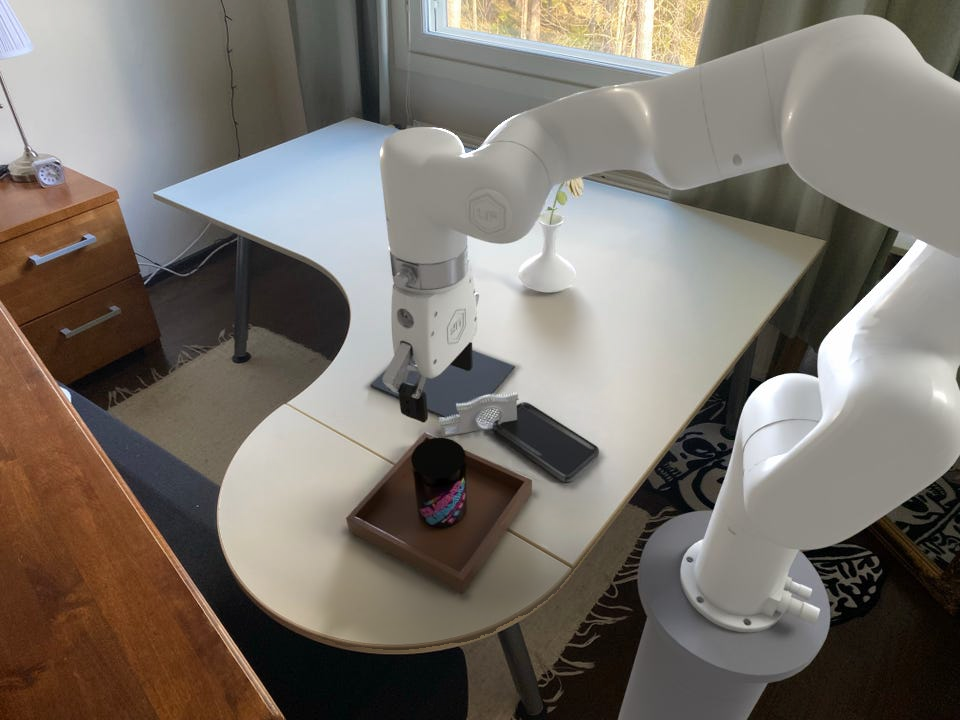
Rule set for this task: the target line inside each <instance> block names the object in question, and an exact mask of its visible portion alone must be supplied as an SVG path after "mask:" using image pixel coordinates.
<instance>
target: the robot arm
mask: <svg viewBox="0 0 960 720" xmlns="http://www.w3.org/2000/svg"><path fill="white" fill-rule="evenodd" d="M787 164H788V165H789V167H790V168H791V169H792V170H793V172H794V173H795V174H796V176H797V177H798V178H799V179H800V180H802V181H803V182H804V183H805V184H806V185H808V186H809V187H811V188H813V190H815V191H817V192H818V193H820V194H822V195H824V196H825V197H827V198H829V199H831V200H832V201H834V202H836V203H839V204H840V205H842V206H843V207H846V208H848V209H850V210H852V211H853V212H856V213H858V214H860V215H862V216H864V217H867V218H868V219H871V220H873V221H875V222H878V223H880V224H882V225H884V226H886V227H888V228H891V229H893V230H895V231H897V232H899V233H902V234H904V235H906V236H909V237H911V238H912V239H915V240H916V241H915V242H914V244H913V245H912V246H911V248H910V249H908V251H907V253H906V254H905V255H904V256H903V257H902V258H901V259H900V260H899V262H898V263H896V265H895V266H894V267H893V268H892V269H891V270H890V271H889V272H888V273H887V274H886V275H885V276H884V277H883V279H881V280H880V281H879V282H878V283H877V284H876V285H875V286H874V287H873V288H872V289H871V291H869V292H868V293H867V294H866V295H865V297H864V296H863V298H862V299H861V300H860V301H859V302H858V303H857V304H856V305H855V306H854V307H853V308H852V309H851V310H850V311H849V312H848V313H847V314H846V315H845V316H844V317H843V318H842V319H841V320H840V321H839V322H838V323H837V324H836V325H835V326H834V327H833V328H832V329H831V330H830V331H829V332H828V334H827V335H826V336H825V337H824V339H823V340H822V342H821V343H820V345H819V348H818V352H817V365H816V366H817V377H816V376H814V375H810V374H807V373H800V372H799V373H797V372H795V373H794V372H792V373H791V372H790V373H784V374H780V375H777V376H774V377H772V378H769V379H767V380H766V381H764V382H762V383H761V384H760V385H758V387H756V388H755V390H754V391H752V393H751V394H750V396H748V398H747V400H746V402H745V403H744V406H743V409H742V410H741V414H740V417H739V421H738V425H737V429H736V433H735V439H734V444H733V447H732V452H731V456H730V459H729V464H728V467H727V470H726V473H725V475H724V478H723V479H724V480H723V482H722V484H721V487H720V490H719V493H718V495H717V499H716V502H715V505H714V508H713V510H712V511H713V513H712V516H711V519H710V522H709V525H708V528H707V531H706V534H705V537H704V539H703V540H700V541H699V542H697V543H695V544H694V545H692V546H691V547H690V548H689V549H688V551H687V552H686V554H685V555H684V557H683V560H682V563H681V567H680V581H681V585H682V588H683V591H684V593H685V595H686V597H687V598H688V600H689V601H690V603H691V604H692V605H693V607H694V608H695V609H696V610H697V611H698V612H699V613H700V614H702V615H703V616H704V617H705V618H707V619H708V620H710V621H711V622H713V623H715V624H717V625H718V626H721V627H723V628H726V629H728V630H733V631H737V632H749V633H751V632H758V631H762V630H765V629H768V628H770V627H771V626H773V625H774V624H776V623H777V622H778V621H779V620H780V618H781V617H782V615H783V614H785V612H786V611H787V612H789V613H791V614H794V615H796V616H798V618H800V619H803V620H805V621H807V622H809V623H811V624H815V623H816V621H817V619H818V616H819V612H820V609H819V608H817V607H815V606H812V605H810V604H808V603H806V602H802V601H799V600H797V599H795V598H793V597H791V595H792V594H791V593H789V592H788V591H790V592H792V593H794V594H797V596H800V597H802V598H804V599H807V600H809V598H810V596H811V592H812V589H811V588H808V587H806V586H804V585H800V584H798V583H795V582H793V581H791V580H792V578H790V577H788V576H787V575H788V572H789V568H790V566H791V564H792V562H793V560H794V558H795V556H796V554H797V552H798V550H800V551H811V550H819V549H823V548H828V547H831V546H834V545H836V544H839V543H841V542H843V541H845V540H848V539H850V538H851V537H853V536H855V535H857V534H859V533H860V532H862V531H863V530H864V529H866V528H868V527H869V526H871V525H872V524H874V523H875V522H877V521H878V520H880V519H881V518H883V517H884V516H886V515H887V514H889V513H890V512H892V511H893V510H894V509H896V508H898V507H899V506H901V505H902V504H903V503H905V502H907V501H908V500H909V499H911V498H912V497H914V496H916V495H917V494H918V493H920V492H922V491H923V490H924V489H926V488H927V487H929V486H930V485H932V484H933V483H934V482H936V481H937V480H938V479H940V478H941V477H942V476H944V475H945V474H946V473H947V472H948V471H949V470H950V469H951V467H952V466H953V465H954V464H955V463H956V461H957V460H958V458H960V387H959V384H958V381H957V374H958V369H959V368H960V81H958V80H956V79H954V78H952V77H951V76H949V75H947V74H945V73H944V72H942V71H940V70H938V69H937V68H935V67H934V66H933V65H931V64H929V63H928V62H926V60H925V59H924V58H923V56H922V54H921V53H920V52H919V51H918V49H917V47H916V46H915V45H914V44H913V43H912V41H911V39H909V37H908V36H907V34H905V32H903V31H902V29H900V28H899V27H898V26H897V25H895V24H894V23H892V22H891V21H889V20H887V19H885V18H883V17H881V16H878V15H873V14H853V15H845V16H840V17H836V18H833V19H830V20H827V21H823V22H820V23H816V24H814V25H811V26H808V27H805V28H802V29H800V30H796V31H793V32H791V33H787V34H784V35H781V36H779V37H776V38H772V39H770V40H767V41H765V42H762V43H759V44H756V45H753V46H750V47H747V48H745V49H742V50H739V51H736V52H733V53H729V54H727V55H724V56H721V57H718V58H715V59H712V60H709V61H707V62H704V63H700V64H697V65H694V66H691V67H689V68H685V69H683V70H680V71H677V72H673V73H669V74H667V75H664V76H661V77H657V78H653V79H649V80H639V81H631V82H627V83H622V84H615V85H608V86H602V87H597V88H592V89H588V90H584V91H581V92H577V93H574V94H571V95H568V96H565V97H562V98H560V99H556V100H553V101H551V102H548V103H545V104H543V105H540V106H537V107H534V108H532V109H529V110H525V111H523V112H521V113H518V114H516V115H514V116H512V117H510V118H508V119H507V120H505V121H503V122H502V123H501V124H499V125H498V126H497V127H495V128H494V129H493V131H492V132H491V133H490V134H489V135H488V136H487V137H486V138H485V140H484V141H483V142H482V143H481V145H480V146H479V147H478V149H476V150H473V151H471V152H468V153H466V152H465V147H464V145H463V143H462V140H460V138H459V137H458V136H457V135H455V134H454V133H453V132H451V131H449V130H446V129H443V128H438V127H431V126H430V127H429V126H418V127H417V126H416V127H410V128H405V129H400V130H398V131H397V132H394V133H392V134H390V135H389V136H388V137H387V138H386V139H384V141H383V142H382V144H381V147H380V150H379V166H380V167H379V168H380V178H381V186H382V188H381V189H382V195H383V203H384V205H383V206H384V214H385V222H386V232H387V241H388V250H389V258H390V259H389V260H390V266H391V267H390V269H391V276H392V283H393V284H392V291H391V306H390V307H391V308H390V310H391V312H390V313H391V314H390V315H391V316H390V317H391V320H390V321H391V322H390V323H391V340H392V350H393V357H392V359H391V361H390V362H389V364H388V366H387V368H386V370H385V371H386V372H385V371H384V372H385V374H384V375H383V378H382V381H383V382H384V384H385V385H386V386H387V387H388V388H389V390H390V391H393V392H396V393H398V394H399V398H398V399H399V408H400V413H401V414H402V415H404V416H406V417H407V418H410V419H413V420H416V421H418V422H421V423H426V422H427V421H428V420H429V413H428V412H429V411H427V400H426V393H424V392H422V390H423V387H424V384H425V381H426V378H427V377H428V378H430V379H431V378H434V377H436V376H438V375H439V374H441V373H442V372H443V371H444V370H445V369H446V368H447V367H448V366H449V365H452V366H455V367H458V368H461V369H463V370H466V371H470V370H471V369H472V368H473V357H472V350H473V342H472V341H473V339H474V338H475V336H476V334H477V331H478V309H477V308H478V303H479V300H480V299H479V298H480V294H479V293H477V292H476V288H475V280H474V274H473V271H472V267H471V266H472V265H471V263H470V260H469V256H468V255H469V253H468V237H471V238H473V239H476V240H479V241H482V242H486V243H491V244H496V245H505V244H506V245H507V244H511V243H512V244H513V243H515V242H517V241H520V240H521V239H523V238H524V237H525V236H527V235H528V234H529V233H530V232H531V231H532V230H533V228H534V226H535V225H536V223H537V222H538V220H537V219H538V217H539V215H541V214H542V212H543V210H544V207H545V206H546V203H547V202H548V199H549V197H550V196H551V193H552V191H553V189H554V188H555V186H556V187H557V186H558V185H561V184H562V183H564V182H565V183H566V182H567V181H570V180H573V179H577V178H580V177H582V178H583V177H587V176H590V175H594V174H595V175H596V174H599V173H604V172H610V171H619V170H623V171H624V170H627V171H636V172H640V173H642V174H645V175H648V176H649V177H651V178H652V179H654V180H656V181H657V182H659V183H660V184H662V185H664V186H666V187H667V188H670V189H672V190H675V191H686V190H690V189H695V188H698V187H702V186H705V185H709V184H713V183H717V182H721V181H724V180H727V179H730V178H734V177H739V176H743V175H746V174H751V173H755V172H758V171H762V170H766V169H769V168H773V167H778V166H781V165H782V166H783V165H787ZM565 183H564V184H565ZM412 358H413V360H414V362H415V364H416V365H413V364H411V363H410V362H411V359H412ZM409 370H410V371H413V372H415V373H418V374H417V378H416V381H415V384H414V385H412V384H409V383H407V382H406V379H407V376H408V372H409Z"/></svg>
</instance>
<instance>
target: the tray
mask: <svg viewBox="0 0 960 720" xmlns="http://www.w3.org/2000/svg"><path fill="white" fill-rule="evenodd" d="M432 438H438V437H437V436H435V435H432V434H430V433H428V432H426V431H425V432H423V433H422V434H421V436H419V437H418V438H417V439H416V441H415V442H414V443H413V444H412V445H411V446H410V447H409V448H408V450H407V451H406V452H405V453H404V454H403V455H402V456H401V457H400V458H399V459H398V460H397V461H396V462H395V464H394V465H393V466H392V467H391V468H390V469H389V470H388V471H387V472H386V473H385V475H384V476H383V477H382V478H381V479H380V480H379V481H378V482H377V483H376V484H375V486H374V487H373V488H372V489H371V490H370V491H369V492H368V493H367V494H366V495H365V496H364V498H363V499H362V500H360V502H359V503H358V504H357V505H356V506H355V507H354V508H353V510H352V511H350V513H348V515H347V516H346V517H345V520H346V524H347V528H348V533H351V534H353V535H355V536H356V537H358V538H360V539H362V540H364V541H365V542H367V543H369V544H371V545H373V546H375V547H376V548H378V549H380V550H382V551H383V552H385V553H388V554H389V555H391V556H392V557H395V558H397V559H398V560H400V561H401V562H404V563H405V564H408V565H410V566H411V567H413V568H415V569H417V570H418V571H420V572H422V573H424V574H426V575H428V576H429V577H431V578H433V579H435V580H437V581H438V582H440V583H442V584H444V585H445V586H448V587H449V588H451V589H452V590H455V591H456V592H459V593H460V594H462V595H464V594H465V593H466V591H467V590H468V588H469V586H470V585H471V584H472V582H473V581H474V579H475V578H476V576H477V575H478V573H479V572H480V570H481V569H482V567H483V566H484V565H485V564H486V562H487V560H488V559H489V557H490V556H491V554H492V553H493V551H494V550H495V548H496V547H497V546H498V544H499V542H500V541H501V540H502V538H503V537H504V535H505V533H507V531H508V529H509V528H510V526H511V525H512V523H513V522H514V521H515V519H516V518H517V516H518V515H519V513H520V512H521V510H522V509H523V508H524V506H525V505H526V503H527V502H528V500H529V498H530V497H531V496H532V494H533V479H531V478H529V477H527V476H524V475H522V474H520V473H518V472H516V471H513V470H512V469H511V470H510V469H509V468H507V467H504V466H503V465H500V464H497V463H495V462H493V461H490V460H488V459H486V458H484V457H482V456H479V455H478V454H475V453H472V452H470V451H468V450H466V449H464V451H465V455H466V487H467V511H466V514H465V516H464V517H463V519H462V520H461V521H460V522H459V523H457V524H456V525H454V526H452V527H449V528H443V529H440V528H434V527H431V526H429V525H427V524H425V523H424V522H423V521H422V520H421V519H420V517H419V515H418V512H417V504H416V495H415V486H414V477H413V472H412V462H411V457H412V453H413V451H414V449H415V448H416V447H417V446H418V445H419V444H421V443H422V442H424V441H426V440H429V439H432Z"/></svg>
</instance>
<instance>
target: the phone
mask: <svg viewBox="0 0 960 720" xmlns="http://www.w3.org/2000/svg"><path fill="white" fill-rule="evenodd" d="M492 433H493V434H494V435H495V436H496V437H497V438H499V439H500V440H502V441H503V442H505V443H506V444H507V445H509V446H510V447H512V448H513V449H514V450H516V451H518V452H519V453H520V454H522V455H523V456H525V457H526V458H528V459H529V460H531V461H532V462H534V463H535V464H536V465H538V466H539V467H540V468H541V469H543V470H545V471H547V472H548V473H549V474H551V475H552V476H554V477H555V478H557V479H558V480H560V481H561V482H563V483H571V482H573V481H574V480H576V478H578V477H579V475H580V474H582V473H583V472H584V471H585V470H586V469H588V467H590V466H591V465H592V464H593V463H594V462H595V461H596V460H597V459H598V458H599V453H600V449H599V447H598V446H597V445H596V444H594V443H593V442H591V441H589V440H588V439H586V438H584V437H583V436H581V435H579V433H577V432H576V431H574V430H572V429H570V428H569V427H568V426H566V425H564V424H563V423H561V422H560V421H558V420H556V419H555V418H553V417H551V416H550V415H549V414H547V413H545V412H544V411H542V410H541V409H539V408H537V407H536V406H534V405H532V404H531V403H530V402H525V401H522V402H520V403H518V404H517V420H513V421H507V422H502V423H501V424H498V420H496V421H495V422H494V423H493V429H492Z"/></svg>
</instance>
